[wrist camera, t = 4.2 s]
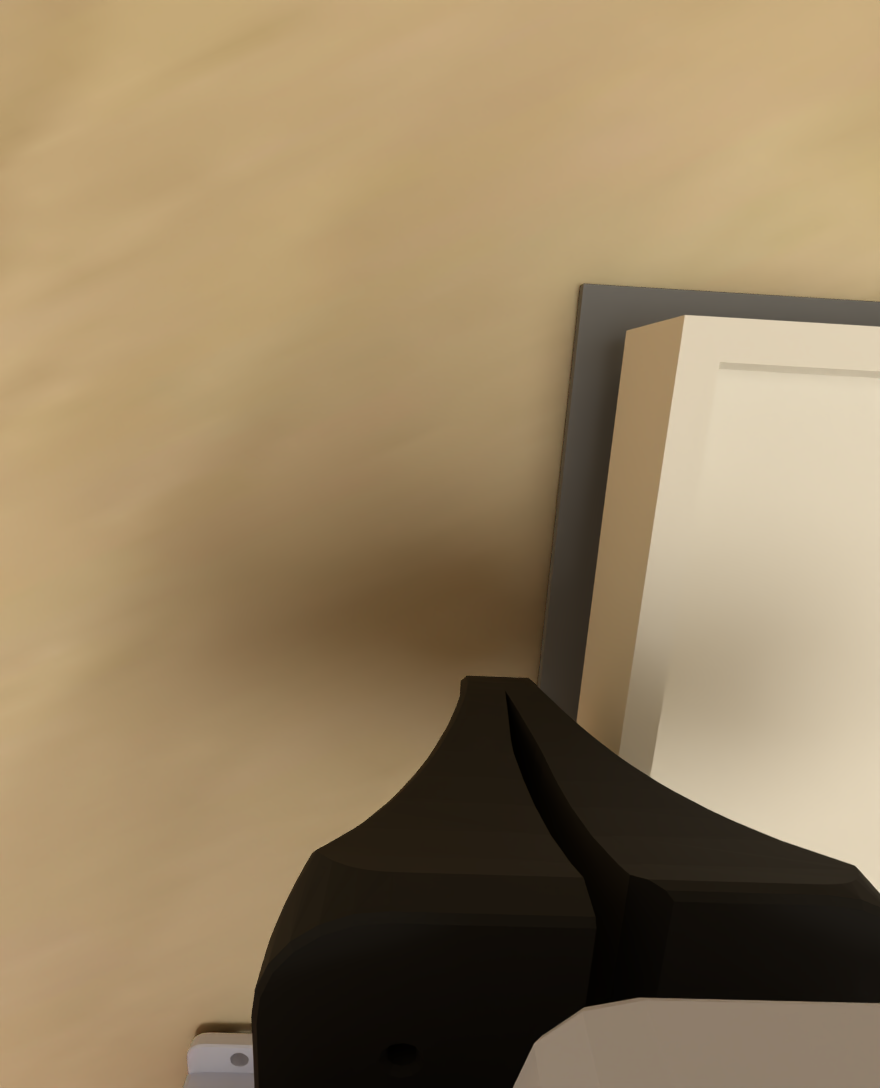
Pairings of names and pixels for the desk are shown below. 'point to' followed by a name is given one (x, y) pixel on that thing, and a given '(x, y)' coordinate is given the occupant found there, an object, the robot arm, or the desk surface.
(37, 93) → the desk surface
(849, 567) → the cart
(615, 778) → the robot arm
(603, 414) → the thin flat board
